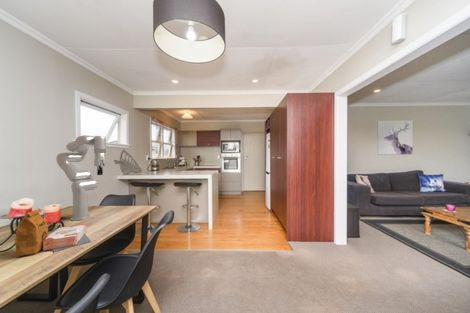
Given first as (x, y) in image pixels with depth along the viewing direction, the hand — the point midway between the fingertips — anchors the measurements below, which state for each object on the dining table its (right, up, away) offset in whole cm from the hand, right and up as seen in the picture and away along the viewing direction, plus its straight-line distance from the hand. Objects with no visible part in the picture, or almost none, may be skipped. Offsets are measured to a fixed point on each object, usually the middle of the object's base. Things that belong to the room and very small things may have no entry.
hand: (99, 174), depth 142 cm
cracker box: (0, -34, -23) cm, 41 cm away
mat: (+8, -37, -34) cm, 51 cm away
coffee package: (-3, -37, -44) cm, 58 cm away
